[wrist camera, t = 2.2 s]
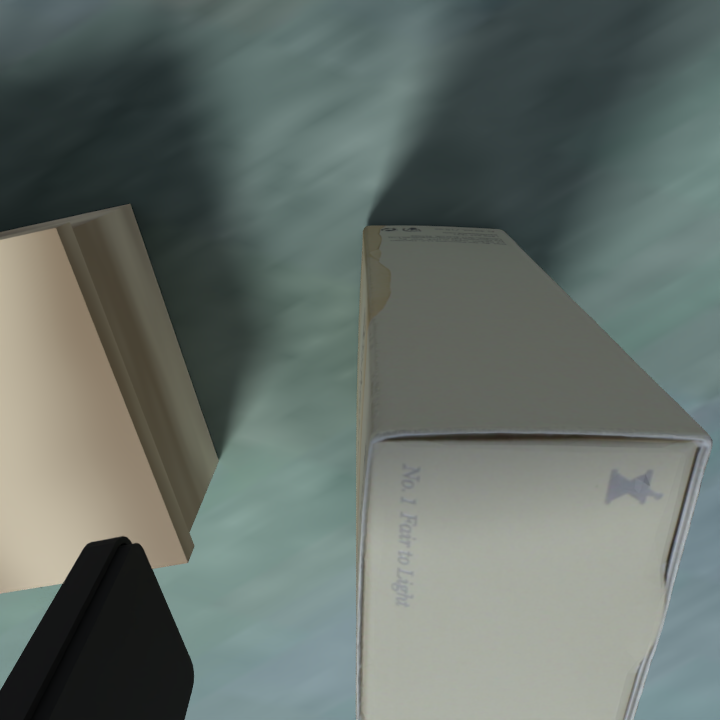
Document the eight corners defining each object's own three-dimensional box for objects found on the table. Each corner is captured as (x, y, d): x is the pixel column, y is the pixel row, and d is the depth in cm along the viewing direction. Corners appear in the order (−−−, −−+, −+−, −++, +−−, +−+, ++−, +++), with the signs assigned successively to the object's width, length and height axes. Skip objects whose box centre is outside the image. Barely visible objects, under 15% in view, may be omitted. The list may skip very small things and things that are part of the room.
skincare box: (362, 222, 19) (354, 410, 7) (511, 227, 19) (731, 422, 7) (356, 410, 21) (342, 768, 10) (488, 415, 21) (626, 777, 10)
